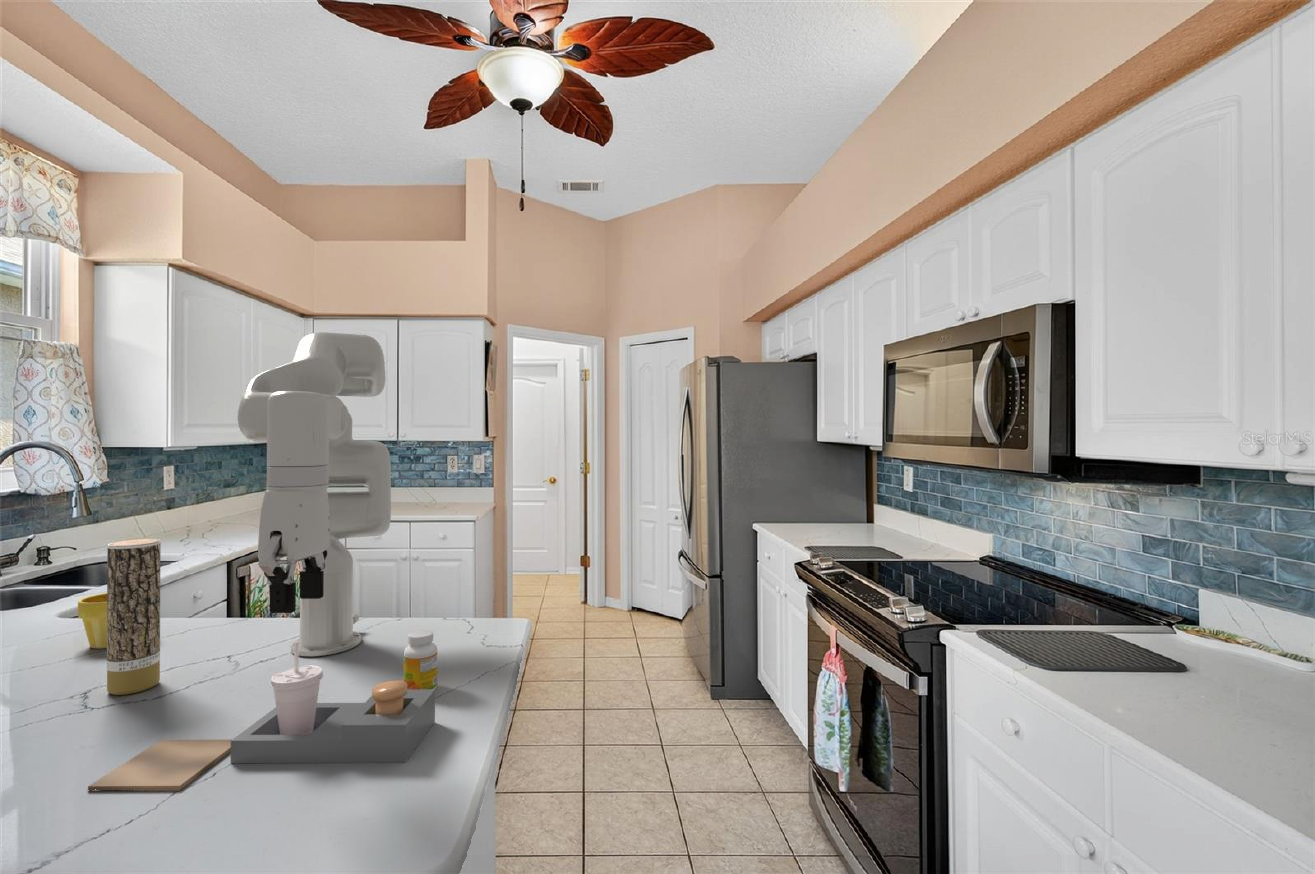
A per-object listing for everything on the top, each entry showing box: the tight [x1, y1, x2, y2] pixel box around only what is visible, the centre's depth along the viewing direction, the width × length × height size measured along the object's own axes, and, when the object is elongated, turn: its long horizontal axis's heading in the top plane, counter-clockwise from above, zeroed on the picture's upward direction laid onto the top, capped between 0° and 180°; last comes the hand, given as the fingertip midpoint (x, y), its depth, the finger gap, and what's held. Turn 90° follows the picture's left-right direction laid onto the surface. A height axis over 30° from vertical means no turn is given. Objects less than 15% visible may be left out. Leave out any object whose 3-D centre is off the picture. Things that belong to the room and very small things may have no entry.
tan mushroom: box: [371, 680, 407, 714], centre depth 84 cm, size 5×5×7 cm
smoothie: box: [270, 641, 324, 735], centre depth 84 cm, size 6×6×14 cm
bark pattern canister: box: [106, 538, 162, 696], centre depth 101 cm, size 7×7×25 cm
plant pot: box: [77, 592, 107, 650], centre depth 122 cm, size 10×10×10 cm
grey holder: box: [230, 689, 436, 764], centre depth 84 cm, size 11×23×5 cm, turn 91°
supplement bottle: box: [403, 629, 438, 690], centre depth 101 cm, size 5×5×10 cm
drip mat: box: [87, 738, 232, 792], centre depth 78 cm, size 11×11×1 cm
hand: (297, 603), depth 84 cm, fingers open, 6 cm apart
